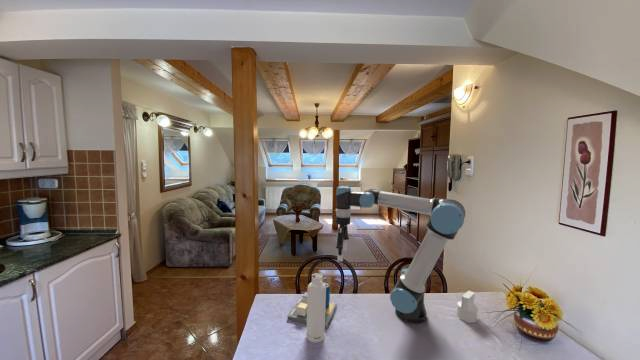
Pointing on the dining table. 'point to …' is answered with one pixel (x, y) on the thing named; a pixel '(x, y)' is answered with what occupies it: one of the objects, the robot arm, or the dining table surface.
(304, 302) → the toggle
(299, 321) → the breaker panel
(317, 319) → the bottle
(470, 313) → the cylinder with rectangular tab
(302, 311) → the toggle
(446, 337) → the dining table surface
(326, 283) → the beverage can
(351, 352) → the dining table surface
